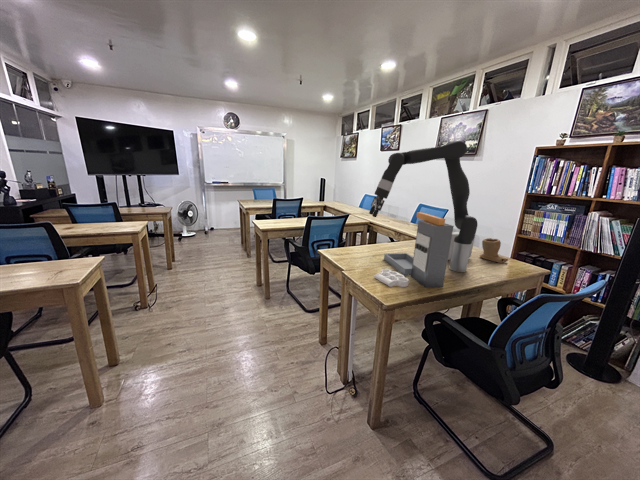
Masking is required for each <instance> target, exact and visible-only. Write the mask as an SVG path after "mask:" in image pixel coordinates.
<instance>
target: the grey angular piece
mask: <svg viewBox="0 0 640 480" xmlns="http://www.w3.org/2000/svg"><path fill="white" fill-rule="evenodd" d="M459 232H460V231H456V232H455V231H453V232H452V238H451V244H450V249H449V255H448V261H451V255H452V249H453V244H454V238H455V237H456V236H458V235H459ZM475 238H476V237H474V239H473V241H472V244H471V249H470V254H469V259H470V258H471V257H472V254H473V253H472V252H473V248H474V243H475Z"/></svg>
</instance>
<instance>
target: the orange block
mask: <svg viewBox="0 0 640 480" xmlns="http://www.w3.org/2000/svg"><path fill="white" fill-rule="evenodd" d="M416 219H419V220H425V221H428V222H431V223H434V224H437V225H444V224H445V223H446V218H443V217H440V216H436V215H433V214H429V213H426V212H422V211H421V212H420V211H417V212H416Z"/></svg>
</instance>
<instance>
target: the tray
mask: <svg viewBox="0 0 640 480" xmlns="http://www.w3.org/2000/svg"><path fill="white" fill-rule="evenodd" d="M413 257H414V256H412V255H411V254H409V253H407V252H397V253H396V252H393V253H384V255H383V260H384V261H385V262H387V264H389V265H390V266H391V267H392V268H394V269H395V270H397V271H398V273H399V274H402V275H404V276H411V272H412V264H413Z"/></svg>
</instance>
